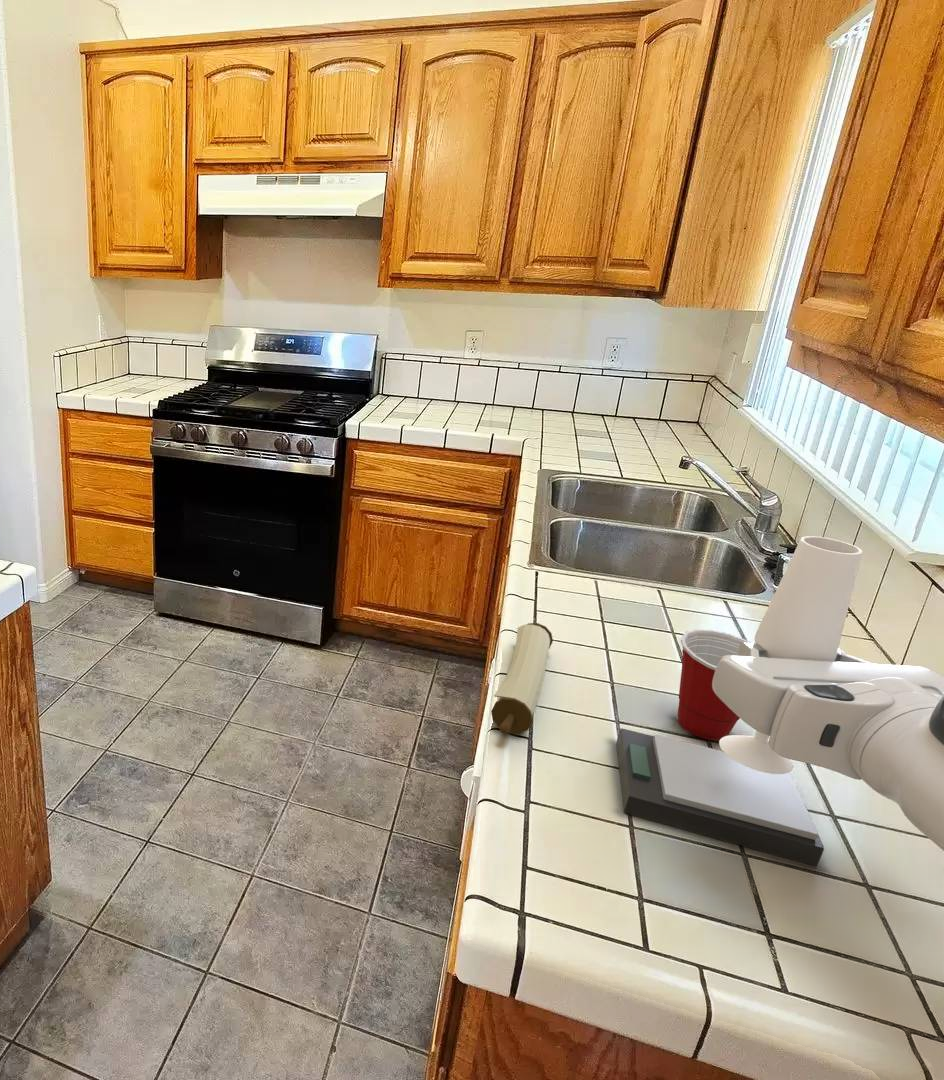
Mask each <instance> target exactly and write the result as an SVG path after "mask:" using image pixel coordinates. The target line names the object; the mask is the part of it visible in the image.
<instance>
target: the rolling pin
mask: <svg viewBox="0 0 944 1080" xmlns="http://www.w3.org/2000/svg"><path fill="white" fill-rule="evenodd" d="M553 641H554V639H553V634H552V632H551V630H550V629H549V628H548V627H547V626H545V625H543V624H541V623H539V622H530V623H529V622H528V623H527V624H522V625H520V626H518V627H517V630H516V640H515V645H514V646H515V647H514V652H513V656H512V662H511V664H510V666H509V669H508V671H507V674H506V676H505V679H504V680H503V682H502V683H501V684H500V687H498V689H497V690H496V692H495V693H494V694H493V697H494V698H498V700H497V701H495V703H494V705H493V706H492V709H491V711H490V712H491V718H492V721H493V723H494V724H495V725H496V727H497V728H498V729H499V732H500V733H501V734H503V735H506V734H509V735H511V734H512V735H521V734H523V733H525V732H528V731H529V729H530V727H531V725H532V723H533V722H534V719H533V716H534V712H535V709H536V707H537V703H538V701H539V697H540V694H541V689H542V686H543V682H544V678H545V674H546V668H547V663H548V658H549V651H550V649H551V646H552V644H553Z"/></svg>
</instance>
